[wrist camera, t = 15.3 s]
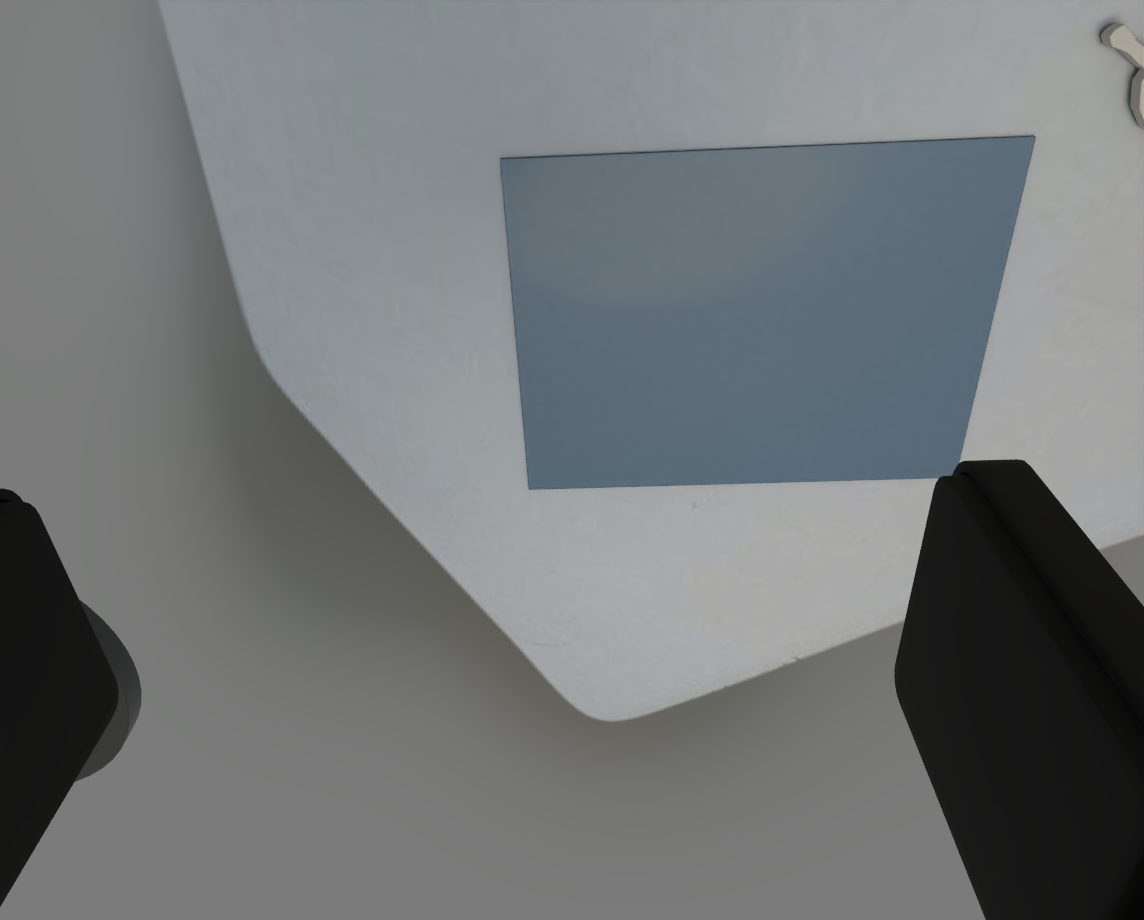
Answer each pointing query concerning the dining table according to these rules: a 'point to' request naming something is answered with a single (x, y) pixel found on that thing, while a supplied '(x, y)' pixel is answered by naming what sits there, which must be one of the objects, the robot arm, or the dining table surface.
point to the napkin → (756, 309)
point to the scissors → (1135, 53)
